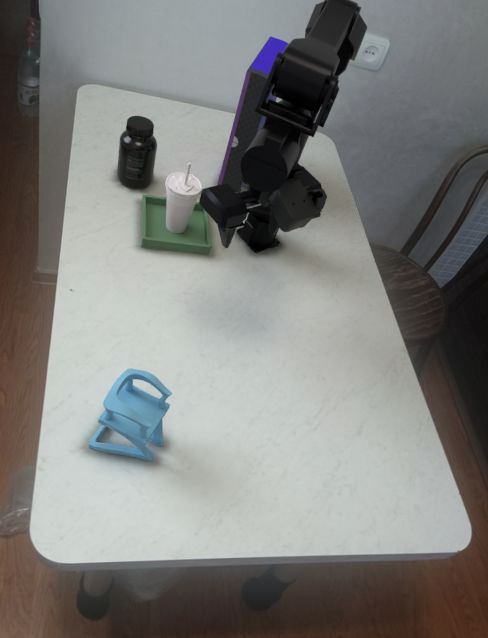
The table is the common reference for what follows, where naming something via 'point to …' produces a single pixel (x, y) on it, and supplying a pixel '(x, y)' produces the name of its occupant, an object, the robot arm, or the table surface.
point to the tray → (162, 238)
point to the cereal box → (249, 113)
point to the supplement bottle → (137, 153)
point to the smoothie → (181, 199)
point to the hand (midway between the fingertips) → (248, 239)
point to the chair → (133, 415)
